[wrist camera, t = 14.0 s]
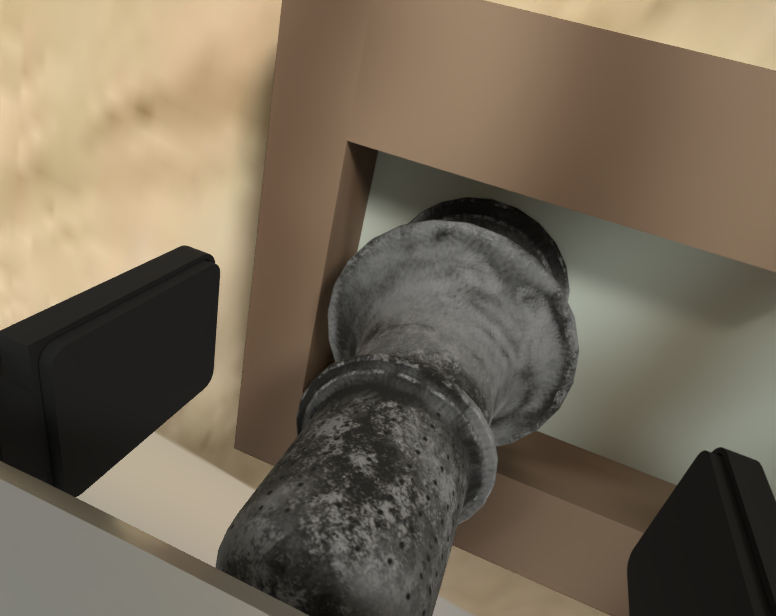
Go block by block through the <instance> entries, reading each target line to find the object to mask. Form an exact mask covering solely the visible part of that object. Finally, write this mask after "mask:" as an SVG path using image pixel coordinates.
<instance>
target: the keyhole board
mask: <svg viewBox="0 0 776 616" xmlns="http://www.w3.org/2000/svg"><path fill="white" fill-rule="evenodd" d="M465 197H471V198H483V199H493V200H496V201H499V202H502V203H505V204H507V205H510V206H513V207H516V208H518V209H520V210H521V211H522V212H524V213H525V214H527V215H528V216H530V217H531V218H533V219H534V220H536V221H537V222H538V223H540V224H541V226H542V227H543V228H544V229H545V230H546V232H547V233H548V234H549V235H550V236H551V237H552V239H553V240H554V241H555V242H556V244H557V246H558V248H559V250H560V253H561V255H562V257H563V259H564V261H565V264H566V266H567V273H568V281H569V288H570V292H569V298H568V303H569V306H570V308H571V310H572V312H573V314H574V317H575V322H576V330H577V337H578V344H579V356H578V361H577V367H576V372H575V378H574V383H573V385H572V387H571V389H570V390H569V392H568V394H567V396H566V398H565V400H564V401H563V403H562V405H561V407H560V409H559V410H558V411H557V412H556V413H555V414H554V415H553V416H552V417H551V418H550V419H549V420H547V421H546V422H545V423H544V424H543V425H542V426H541V427H540V428H539V429H538V430H536V431H534V432H532V433H530V434H529V435H527V436H525V437H523V438H521V439H519V440H517V441H515V442H513V443H510V444H506V445H502V446H497V447H496V450H497V456H498V464H497V471H496V479H495V485H494V487H493V489H492V491H491V493H490V495H489V497H488V499H487V500H486V502H485V504H484V505H483V506H482V507H481V508H480V509H479V510H478V511H477V512H476V513H475V514H474V515H473V516H472V517H470V518H469V519H468V520H466V521H464V522H462V523H460V524H458V526H457V530H456V533H455V537H454V540H453V544H452V545H453V546H456V547H458V548H460V549H462V550H465V551H467V552H469V553H471V554H474V555H476V556H478V557H480V558H483V559H485V560H487V561H490V562H492V563H494V564H496V565H499V566H501V567H503V568H505V569H508V570H510V571H512V572H514V573H517V574H519V575H521V576H523V577H526V578H528V579H530V580H532V581H535V582H537V583H539V584H541V585H544V586H546V587H548V588H550V589H553V590H555V591H557V592H559V593H562V594H564V595H566V596H568V597H571V598H573V599H575V600H577V601H580V602H582V603H584V604H586V605H589V606H591V607H593V608H595V609H598V610H600V611H602V612H604V613H607V614H609V615H611V616H629V600H628V582H627V565H628V560H629V557H630V554H631V552H632V550H633V548H634V547H635V545H636V544H637V543H638V541H639V540H640V538H641V537H642V535H643V534H644V532H645V531H646V529H647V528H648V527H649V525H650V524H651V522H652V521H653V519H654V518H655V516H656V515H657V514H658V512H659V511H660V509H661V508H662V506H663V505H664V503H665V502H666V500H667V499H668V498H669V496H670V495H671V493H672V492H673V490H674V489H675V487H676V486H677V484H678V483H679V482H680V480H681V479H682V477H683V476H684V474H685V473H686V471H687V470H688V469H689V467H690V466H691V464H692V463H693V461H694V460H695V458H696V457H697V456H698V454H699V453H700V452H702V451H704V450H706V451H709V452H712V451H713V450H715V449H716V448H718V447H723V448H725V449H728V450H731V451H733V452H736V453H739V454H741V455H744V456H747V457H749V458H752V459H755V460H757V461H759V462H760V464H761V465H762V467H763V470H764V472H765V475H766V477H767V480H768V482H769V485H770V487H771V490H772V492H773V495H774V498H775V500H776V71H775V70H771V69H766V68H762V67H758V66H754V65H750V64H746V63H741V62H737V61H733V60H729V59H725V58H721V57H717V56H712V55H708V54H704V53H700V52H696V51H692V50H688V49H683V48H679V47H675V46H671V45H667V44H663V43H659V42H654V41H650V40H646V39H642V38H638V37H634V36H629V35H625V34H621V33H617V32H613V31H609V30H605V29H600V28H596V27H592V26H588V25H584V24H580V23H576V22H571V21H567V20H563V19H559V18H555V17H551V16H547V15H542V14H538V13H534V12H530V11H526V10H522V9H517V8H513V7H509V6H505V5H501V4H497V3H493V2H488V1H484V0H282V7H281V16H280V26H279V35H278V44H277V54H276V63H275V72H274V82H273V91H272V100H271V110H270V119H269V128H268V138H267V147H266V156H265V166H264V175H263V184H262V194H261V203H260V212H259V221H258V231H257V240H256V249H255V259H254V268H253V277H252V287H251V296H250V305H249V315H248V324H247V333H246V343H245V352H244V361H243V371H242V380H241V389H240V399H239V408H238V417H237V427H236V436H235V445H234V448H235V449H237V450H240V451H242V452H244V453H246V454H249V455H251V456H253V457H255V458H258V459H260V460H262V461H264V462H267V463H269V464H271V465H273V466H275V465H276V463H277V462H278V461H279V460H280V458H281V457H282V456H283V454H284V453H285V452H286V451H287V449H288V448H289V447H290V445H291V444H292V443H293V441H294V440H295V439H296V438H297V424H296V417H297V412H298V408H299V404H300V399H301V397H302V395H303V394H304V392H305V391H306V389H307V387H308V386H309V384H310V383H311V381H312V380H313V379H314V378H315V377H316V376H317V375H318V374H320V373H321V372H322V371H323V370H325V369H326V368H327V367H328V366H329V365H331V364H333V363H335V359H334V355H333V352H332V349H331V346H330V342H329V334H328V313H327V312H328V308H329V304H330V299H331V295H332V291H333V287H334V284H335V282H336V281H337V279H338V277H339V275H340V274H341V272H342V270H343V269H344V267H345V265H346V263H347V262H348V260H349V259H350V258H352V257H353V256H354V255H355V254H356V253H357V252H358V251H359V250H360V249H361V248H362V247H363V246H365V245H366V244H367V243H368V242H369V241H370V240H371V239H373V238H375V237H377V236H379V235H381V234H383V233H385V232H387V231H390V230H392V229H394V228H396V227H398V226H400V225H405V224H408V223H409V222H410V221H411V220H413V219H414V218H415V217H416V216H417V215H418V214H419V213H420V212H422V211H424V210H426V209H428V208H430V207H432V206H434V205H436V204H439V203H441V202H443V201H449V200H454V199H460V198H465Z"/></svg>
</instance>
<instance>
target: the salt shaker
mask: <svg viewBox="0 0 776 616" xmlns="http://www.w3.org/2000/svg"><path fill="white" fill-rule="evenodd" d="M569 292H570V288H569V281H568V273H567V266H566V264H565V261H564V259H563V257H562V255H561V253H560V250H559V248H558V246H557V244H556V242H555V241H554V240H553V239H552V237H551V236H550V235H549V234H548V233H547V232H546V230H545V229H544V228H543V227H542V226H541V224H540V223H538V222H537V221H536V220H534V219H533V218H531V217H530V216H528V215H527V214H525V213H524V212H522V211H521V210H520V209H518V208H516V207H513V206H510V205H507V204H505V203H502V202H499V201H496V200H493V199H483V198H471V197H465V198H460V199H454V200H449V201H443V202H441V203H439V204H436V205H434V206H432V207H430V208H428V209H426V210H424V211H422V212H420V213H419V214H418V215H417V216H416V217H415V218H414V219H413V220H411V221H410V222H409V223H408V224H405V225H400V226H398V227H396V228H394V229H392V230H390V231H387V232H385V233H383V234H381V235H379V236H377V237H375V238H373V239H371V240H370V241H369V242H368V243H367V244H366V245H365V246H363V247H362V248H361V249H360V250H359V251H358V252H357V253H356V254H355V255H354V256H353V257H352V258H350V259H349V260H348V262H347V263H346V265H345V267H344V269H343V270H342V272H341V274H340V275H339V277H338V279H337V281H336V282H335V284H334V287H333V291H332V295H331V299H330V304H329V308H328V312H327V313H328V334H329V342H330V346H331V349H332V352H333V355H334V359H335V363H333V364H331V365H329V366H328V367H327V368H326V369H325V370H323V371H322V372H321V373H320V374H318V375H317V376H316V377H315V378H314V379H313V380H312V381H311V383H310V384H309V386H308V387H307V389H306V391H305V392H304V394H303V395H302V397H301V399H300V404H299V408H298V412H297V417H296V424H297V438H296V439H295V440H294V441H293V443H292V444H291V445H290V447H289V448H288V449H287V451H286V452H285V453H284V454H283V456H282V457H281V458H280V460H279V461H278V462H277V463H276V465H275V466H274V467H273V469H272V470H271V471H270V473H269V474H268V475H267V476H266V478H265V479H264V480H263V482H262V483H261V484H260V485H259V487H258V488H257V489H256V491H255V492H254V493H253V495H252V496H251V497H250V498H249V500H248V501H247V502H246V504H245V505H244V506H243V508H242V509H241V510H240V511H239V513H238V514H237V516H236V517H235V519H234V520H233V522H232V524H231V525H230V527H229V528H228V530H227V532H226V534H225V536H224V539H223V541H222V543H221V545H220V547H219V550H218V555H217V563H216V569H218V570H220V571H222V572H224V573H226V574H228V575H230V576H232V577H234V578H236V579H238V580H240V581H242V582H244V583H246V584H248V585H250V586H252V587H254V588H256V589H258V590H260V591H262V592H264V593H266V594H268V595H270V596H272V597H274V598H275V599H277V600H279V601H281V602H283V603H285V604H287V605H289V606H291V607H293V608H295V609H297V610H299V611H301V612H303V613H305V614H307V615H309V616H432V614H433V611H434V607H435V604H436V600H437V597H438V593H439V590H440V586H441V583H442V579H443V576H444V572H445V568H446V565H447V561H448V558H449V554H450V551H451V547H452V544H453V540H454V537H455V533H456V530H457V526H458V524H460V523H462V522H464V521H466V520H468V519H469V518H470V517H472V516H473V515H474V514H475V513H476V512H477V511H478V510H479V509H480V508H481V507H482V506H483V505H484V504H485V502H486V500H487V499H488V497H489V495H490V493H491V491H492V489H493V487H494V485H495V479H496V471H497V464H498V456H497V450H496V447H497V446H502V445H506V444H510V443H513V442H515V441H517V440H519V439H521V438H523V437H525V436H527V435H529V434H530V433H532V432H534V431H536V430H538V429H539V428H540V427H541V426H542V425H543V424H544V423H545V422H546V421H547V420H549V419H550V418H551V417H552V416H553V415H554V414H555V413H556V412H557V411H558V410H559V409H560V407H561V405H562V403H563V401H564V400H565V398H566V396H567V394H568V392H569V390H570V389H571V387H572V385H573V383H574V378H575V372H576V367H577V361H578V356H579V344H578V337H577V330H576V322H575V317H574V314H573V312H572V310H571V308H570V306H569V303H568V298H569Z"/></svg>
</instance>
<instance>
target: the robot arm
mask: <svg viewBox="0 0 776 616" xmlns="http://www.w3.org/2000/svg"><path fill="white" fill-rule="evenodd" d="M219 282H220V268H219V266H218V265H217V264H215V260H214V258H213V256H212V255H210V254H208V253H205V252H202V251H200V250H197V249H194V248H192V247H189V246H185V245H184V246H180V247H178V248H176V249H174V250H172V251H170V252H167V253H165V254H163V255H161V256H159V257H157V258H155V259H153V260H150V261H148V262H146V263H144V264H142V265H140V266H138V267H135V268H133V269H131V270H129V271H127V272H125V273H123V274H120V275H118V276H116V277H114V278H112V279H110V280H108V281H105V282H103V283H101V284H99V285H97V286H95V287H93V288H90V289H88V290H86V291H84V292H82V293H80V294H78V295H75V296H73V297H71V298H69V299H67V300H65V301H63V302H61V303H58V304H56V305H54V306H52V307H50V308H48V309H46V310H43V311H41V312H39V313H37V314H35V315H33V316H31V317H28V318H26V319H24V320H22V321H20V322H18V323H16V324H13V325H11V326H9V327H7V328H5V329H3V330H1V331H0V616H309V615H307V614H305V613H303V612H301V611H299V610H297V609H295V608H293V607H291V606H289V605H287V604H285V603H283V602H281V601H279V600H277V599H275V598H274V597H272V596H270V595H268V594H266V593H264V592H262V591H260V590H258V589H256V588H254V587H252V586H250V585H248V584H246V583H244V582H242V581H240V580H238V579H236V578H234V577H232V576H230V575H228V574H226V573H224V572H222V571H220V570H218V569H216V568H214V567H212V566H210V565H208V564H206V563H204V562H202V561H201V560H199V559H197V558H195V557H193V556H191V555H189V554H187V553H185V552H183V551H181V550H179V549H177V548H175V547H173V546H171V545H169V544H167V543H165V542H163V541H161V540H159V539H157V538H155V537H153V536H151V535H149V534H147V533H145V532H143V531H141V530H139V529H137V528H135V527H133V526H131V525H129V524H127V523H125V522H123V521H121V520H119V519H117V518H115V517H113V516H111V515H109V514H107V513H105V512H103V511H101V510H99V509H97V508H95V507H93V506H91V505H89V504H87V503H85V502H83V501H81V500H79V499H77V498H75V497H77V496H79V495H80V494H82V493H83V492H84V491H85V490H86V489H87V488H89V487H90V486H91V485H92V484H93V483H95V482H96V481H97V480H98V479H99V478H100V477H102V476H103V475H104V474H105V473H106V472H107V471H109V470H110V469H111V468H112V467H113V466H114V465H116V464H117V463H118V462H119V461H120V460H121V459H123V458H124V457H125V456H126V455H127V454H128V453H130V452H131V451H132V450H133V449H134V448H135V447H137V446H138V445H139V444H140V443H141V442H142V441H144V440H145V439H146V438H147V437H148V436H149V435H150V434H152V433H153V432H154V431H155V430H156V429H158V428H159V427H160V426H161V425H162V424H163V423H165V422H166V421H167V420H168V419H169V418H170V417H172V416H173V415H174V414H175V413H176V412H177V411H179V410H180V409H181V408H182V407H183V406H184V405H186V404H187V403H188V402H189V401H190V400H191V399H193V398H194V397H195V396H196V395H197V394H198V393H200V392H201V391H202V390H203V389H204V388H205V387H206V386H207V385H208V383H209V382H210V380H211V378H212V375H213V371H214V356H215V341H216V327H217V312H218V297H219ZM627 582H628V600H629V616H776V500H775V498H774V495H773V492H772V490H771V487H770V485H769V482H768V480H767V477H766V475H765V472H764V470H763V467H762V465H761V464H760V462H759V461H757V460H755V459H752V458H749V457H747V456H744V455H741V454H739V453H736V452H733V451H731V450H728V449H725V448H723V447H718V448H716V449H715V450H713V451H712V452H709V451H706V450H704V451H702V452H700V453H699V454H698V456H697V457H696V458H695V460H694V461H693V463H692V464H691V466H690V467H689V469H688V470H687V471H686V473H685V474H684V476H683V477H682V479H681V480H680V482H679V483H678V484H677V486H676V487H675V489H674V490H673V492H672V493H671V495H670V496H669V498H668V499H667V500H666V502H665V503H664V505H663V506H662V508H661V509H660V511H659V512H658V514H657V515H656V516H655V518H654V519H653V521H652V522H651V524H650V525H649V527H648V528H647V529H646V531H645V532H644V534H643V535H642V537H641V538H640V540H639V541H638V543H637V544H636V545H635V547H634V548H633V550H632V552H631V554H630V557H629V560H628V565H627Z"/></svg>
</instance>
